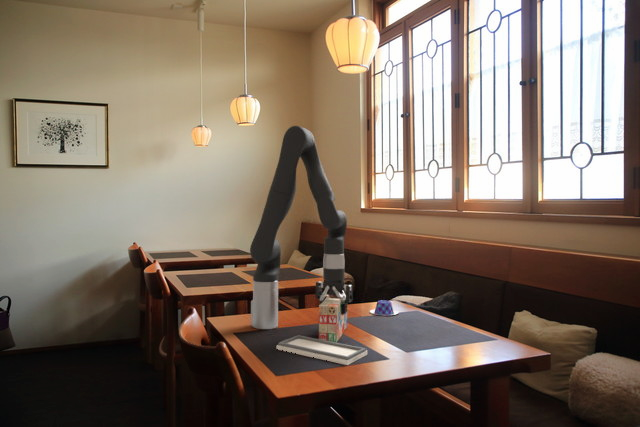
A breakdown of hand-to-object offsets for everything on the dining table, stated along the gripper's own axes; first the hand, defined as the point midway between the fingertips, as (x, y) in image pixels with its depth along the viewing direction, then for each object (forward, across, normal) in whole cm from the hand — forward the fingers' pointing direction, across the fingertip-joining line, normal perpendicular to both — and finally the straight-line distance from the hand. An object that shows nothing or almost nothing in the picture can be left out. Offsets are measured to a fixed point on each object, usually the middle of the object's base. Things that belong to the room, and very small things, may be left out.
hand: (333, 312), depth 174 cm
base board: (+8, +8, -20) cm, 22 cm away
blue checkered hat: (+8, 0, +40) cm, 41 cm away
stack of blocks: (+8, 0, 0) cm, 8 cm away
